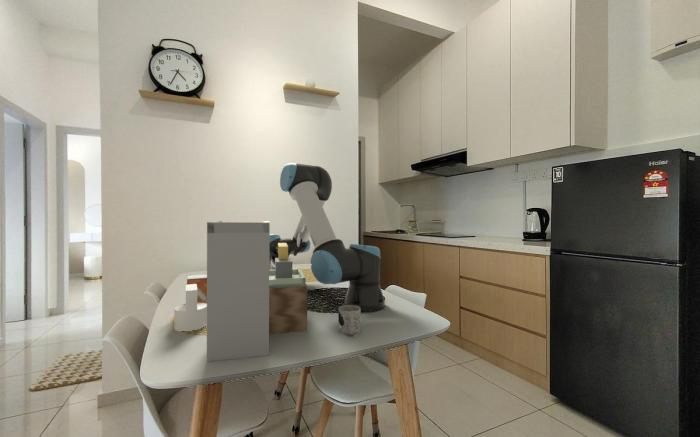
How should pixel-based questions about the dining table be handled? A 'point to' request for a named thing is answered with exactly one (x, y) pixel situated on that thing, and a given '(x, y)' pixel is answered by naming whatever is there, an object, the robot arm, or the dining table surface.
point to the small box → (199, 286)
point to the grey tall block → (237, 290)
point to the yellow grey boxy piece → (283, 262)
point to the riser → (287, 309)
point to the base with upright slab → (190, 312)
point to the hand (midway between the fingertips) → (281, 236)
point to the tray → (287, 280)
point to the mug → (349, 319)
